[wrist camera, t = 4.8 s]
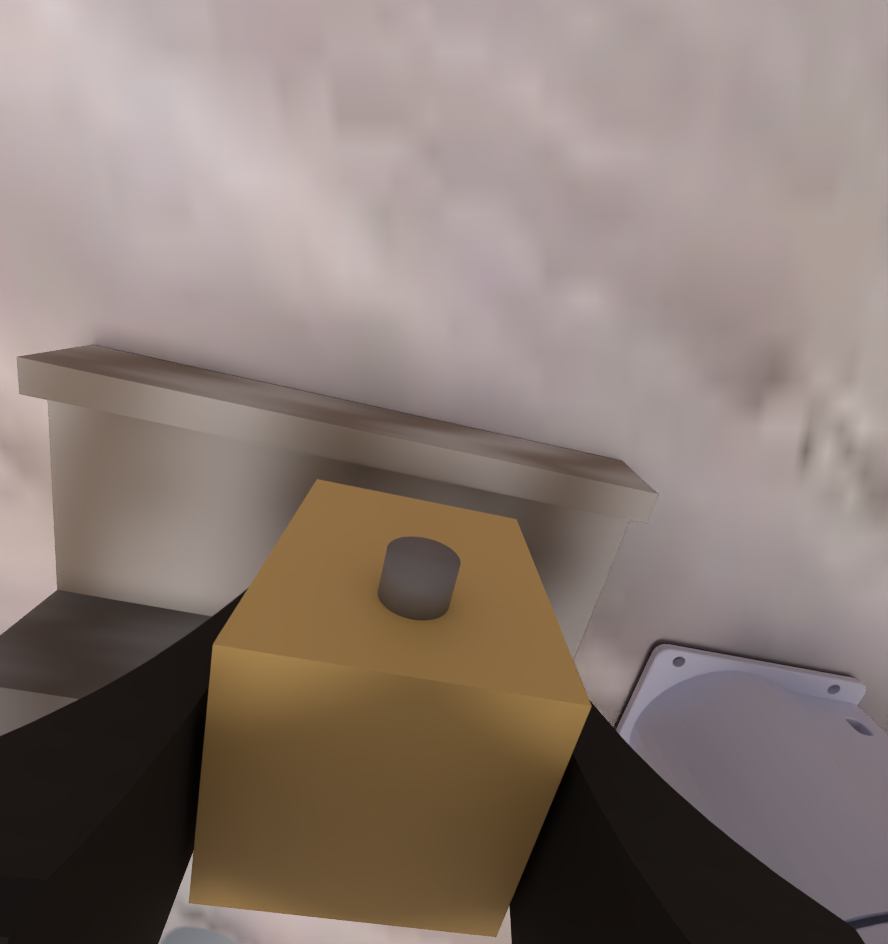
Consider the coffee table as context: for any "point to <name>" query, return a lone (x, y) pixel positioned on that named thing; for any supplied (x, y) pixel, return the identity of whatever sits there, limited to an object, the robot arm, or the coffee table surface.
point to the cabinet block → (384, 719)
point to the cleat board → (255, 505)
